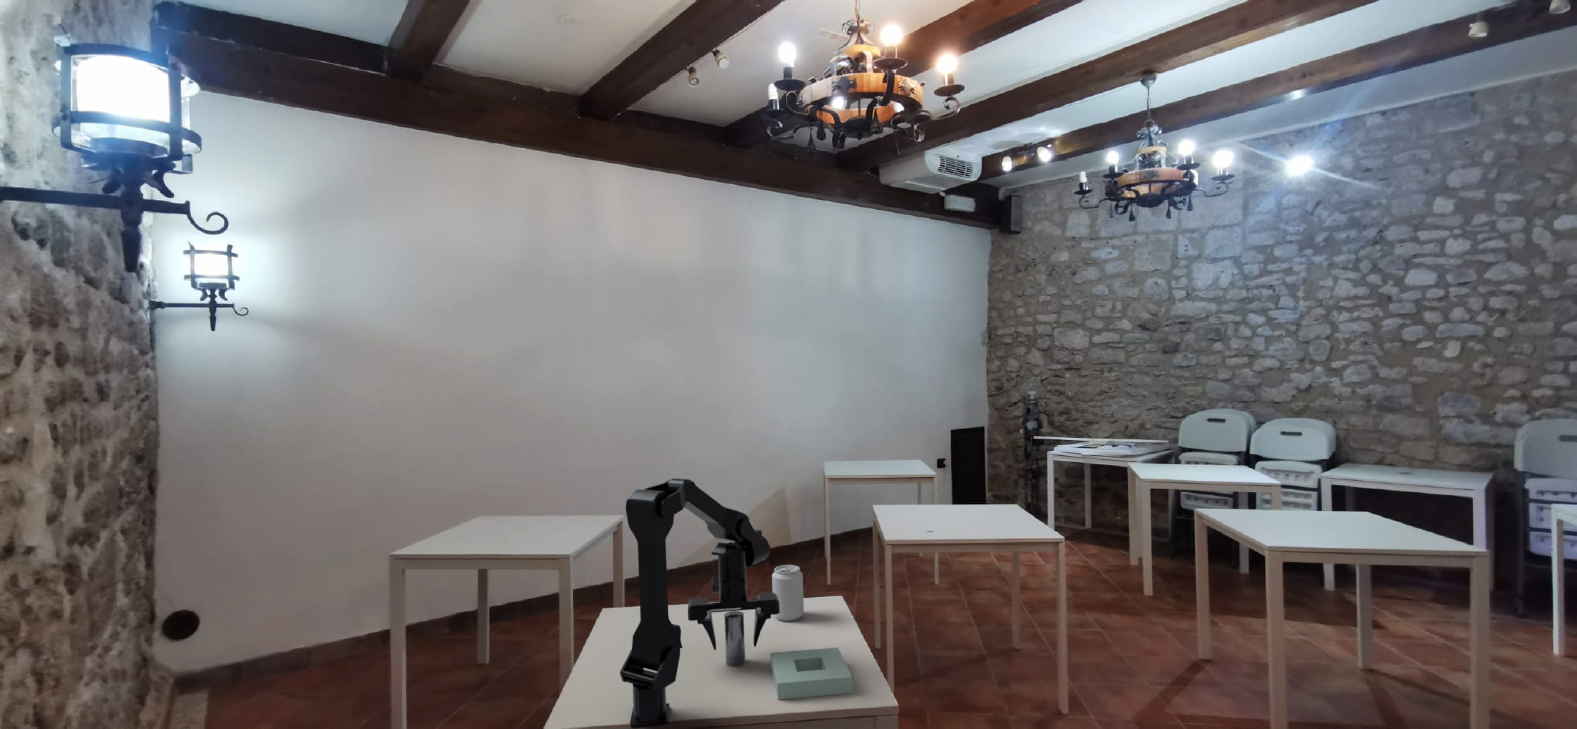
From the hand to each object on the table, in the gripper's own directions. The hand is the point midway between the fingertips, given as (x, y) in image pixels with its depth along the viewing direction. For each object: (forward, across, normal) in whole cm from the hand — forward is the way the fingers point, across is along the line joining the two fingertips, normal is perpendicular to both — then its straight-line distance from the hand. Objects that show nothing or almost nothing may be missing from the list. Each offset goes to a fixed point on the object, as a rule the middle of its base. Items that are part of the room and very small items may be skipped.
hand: (735, 647), depth 148 cm
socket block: (+3, -14, +11) cm, 18 cm away
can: (+3, -14, -24) cm, 28 cm away
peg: (+3, 0, 0) cm, 3 cm away
